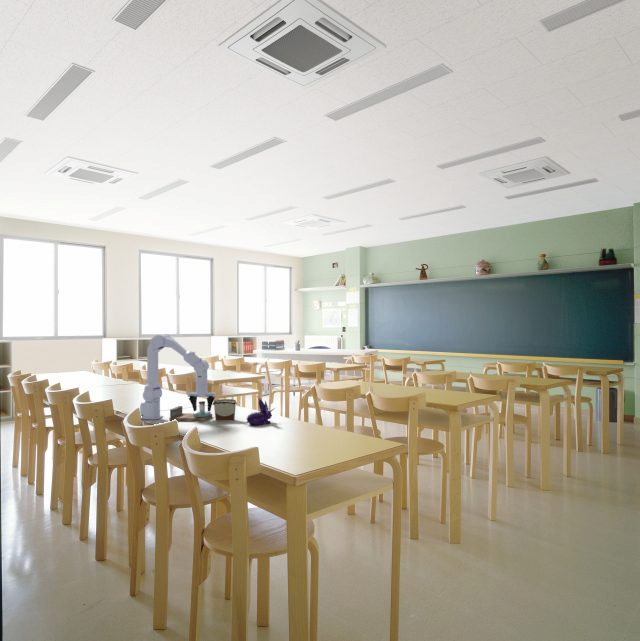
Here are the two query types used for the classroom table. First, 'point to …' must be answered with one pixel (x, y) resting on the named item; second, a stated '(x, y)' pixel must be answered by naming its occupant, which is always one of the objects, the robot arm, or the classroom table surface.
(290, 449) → the classroom table surface
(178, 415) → the bench base
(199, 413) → the teal plate with post
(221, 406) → the food container
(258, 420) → the creature
